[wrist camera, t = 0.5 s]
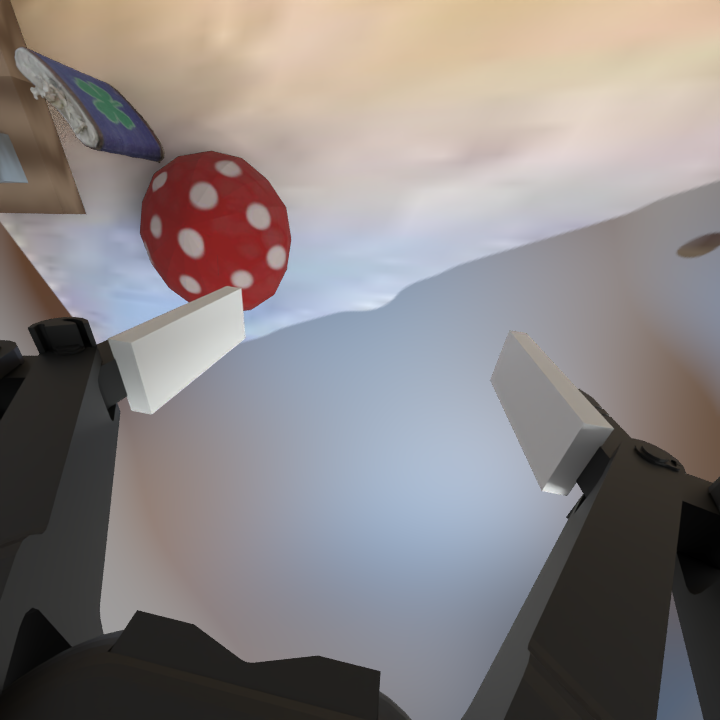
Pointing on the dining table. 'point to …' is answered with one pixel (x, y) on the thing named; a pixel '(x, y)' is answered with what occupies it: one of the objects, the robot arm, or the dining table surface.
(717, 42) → the dining table surface
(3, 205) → the block insertion board
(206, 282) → the decorative mushroom
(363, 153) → the dining table surface
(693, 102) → the dining table surface
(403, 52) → the dining table surface
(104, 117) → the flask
